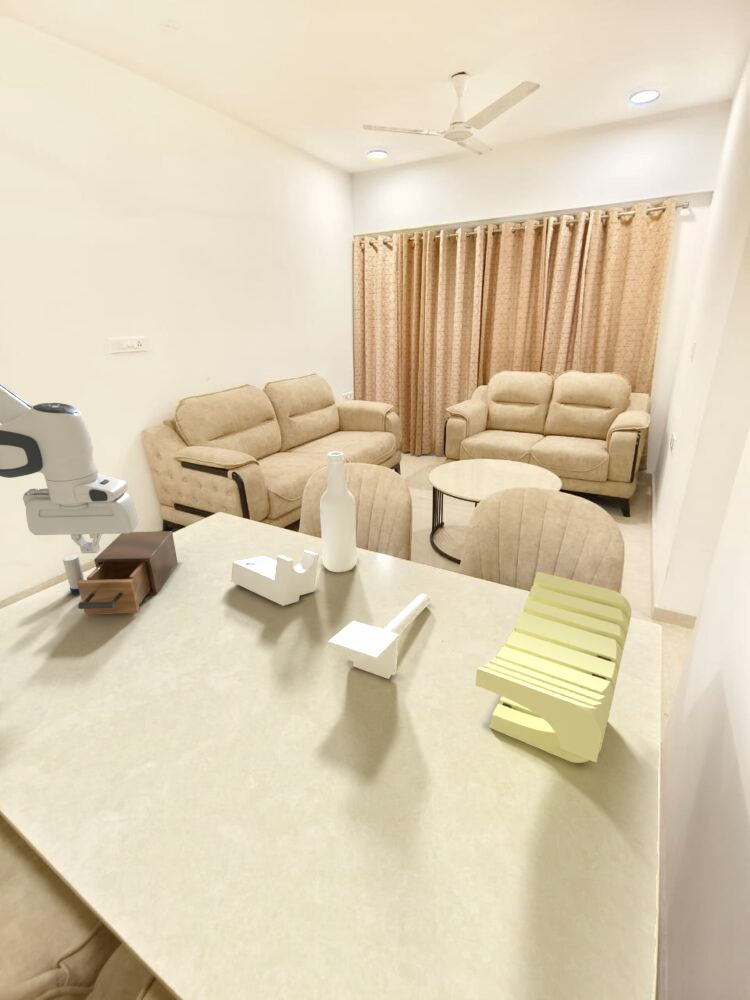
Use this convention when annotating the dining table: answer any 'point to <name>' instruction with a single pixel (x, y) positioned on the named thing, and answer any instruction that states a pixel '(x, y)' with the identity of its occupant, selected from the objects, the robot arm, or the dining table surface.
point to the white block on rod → (377, 640)
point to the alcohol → (338, 519)
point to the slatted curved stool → (560, 668)
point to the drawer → (115, 588)
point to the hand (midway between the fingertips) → (91, 551)
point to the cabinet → (144, 554)
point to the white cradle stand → (277, 576)
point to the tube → (73, 572)
